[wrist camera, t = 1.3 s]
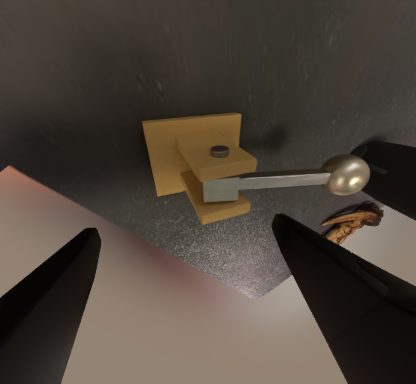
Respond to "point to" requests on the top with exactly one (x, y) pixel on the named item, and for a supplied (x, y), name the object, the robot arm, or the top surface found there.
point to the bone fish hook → (353, 222)
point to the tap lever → (294, 179)
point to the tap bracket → (198, 159)
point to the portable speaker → (391, 175)
